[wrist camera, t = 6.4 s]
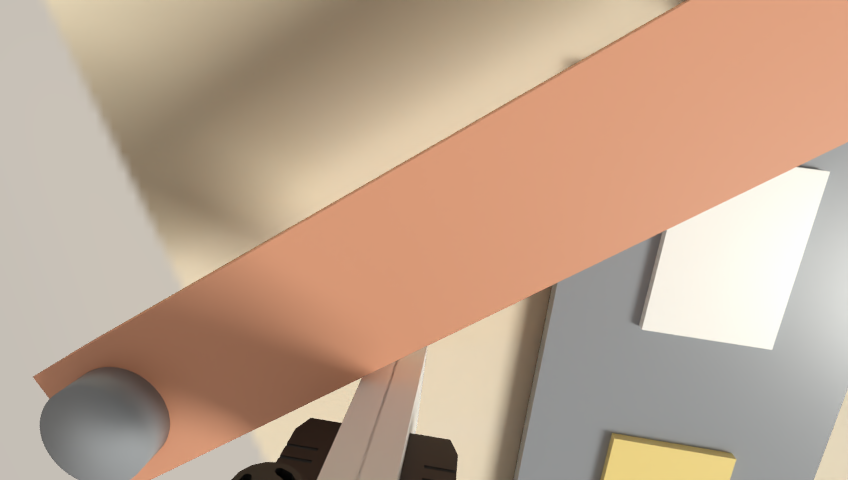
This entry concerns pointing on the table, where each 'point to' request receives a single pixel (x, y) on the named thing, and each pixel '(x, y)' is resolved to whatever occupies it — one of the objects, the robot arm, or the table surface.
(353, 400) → the robot arm
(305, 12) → the table surface
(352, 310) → the swing arm
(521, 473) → the label board
